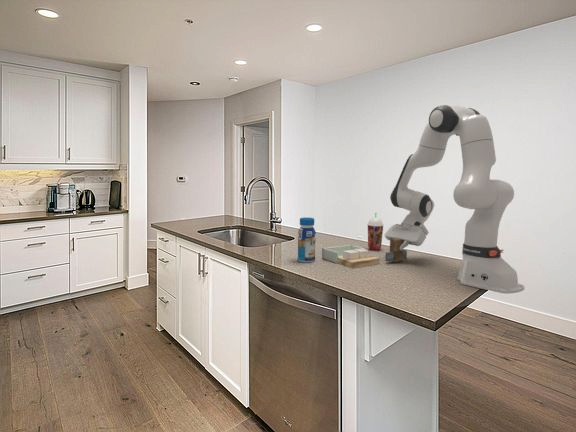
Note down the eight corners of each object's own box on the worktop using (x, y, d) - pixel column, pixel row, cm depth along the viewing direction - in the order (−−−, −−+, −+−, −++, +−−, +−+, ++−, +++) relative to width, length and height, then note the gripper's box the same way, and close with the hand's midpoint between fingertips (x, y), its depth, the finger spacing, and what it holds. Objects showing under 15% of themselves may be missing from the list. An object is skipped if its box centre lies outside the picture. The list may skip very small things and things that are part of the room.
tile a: (368, 256, 169) (368, 250, 169) (360, 258, 166) (360, 251, 166) (361, 254, 173) (361, 248, 173) (352, 255, 171) (353, 249, 170)
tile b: (358, 258, 166) (358, 251, 166) (350, 259, 163) (350, 253, 163) (351, 256, 170) (351, 249, 170) (342, 257, 168) (343, 250, 167)
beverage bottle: (299, 258, 176) (299, 216, 174) (316, 259, 174) (317, 217, 172) (295, 262, 168) (296, 219, 166) (314, 263, 166) (314, 219, 164)
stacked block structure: (408, 259, 171) (408, 238, 170) (389, 262, 165) (390, 240, 164) (402, 257, 174) (403, 237, 173) (383, 260, 168) (384, 239, 167)
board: (379, 263, 167) (379, 258, 166) (352, 268, 158) (352, 262, 158) (364, 259, 175) (364, 254, 175) (338, 263, 167) (338, 257, 167)
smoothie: (382, 251, 192) (384, 213, 190) (366, 250, 194) (367, 213, 192) (382, 248, 200) (383, 212, 198) (366, 247, 202) (367, 211, 200)
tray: (366, 259, 176) (366, 248, 175) (336, 263, 166) (336, 252, 166) (350, 254, 185) (351, 244, 184) (322, 258, 176) (322, 248, 175)
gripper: (391, 219, 180) (375, 240, 176) (425, 224, 163) (409, 248, 159) (397, 227, 183) (382, 249, 179) (431, 233, 166) (416, 256, 162)
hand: (395, 248), depth 169 cm, fingers closed on stacked block structure, 3 cm apart
